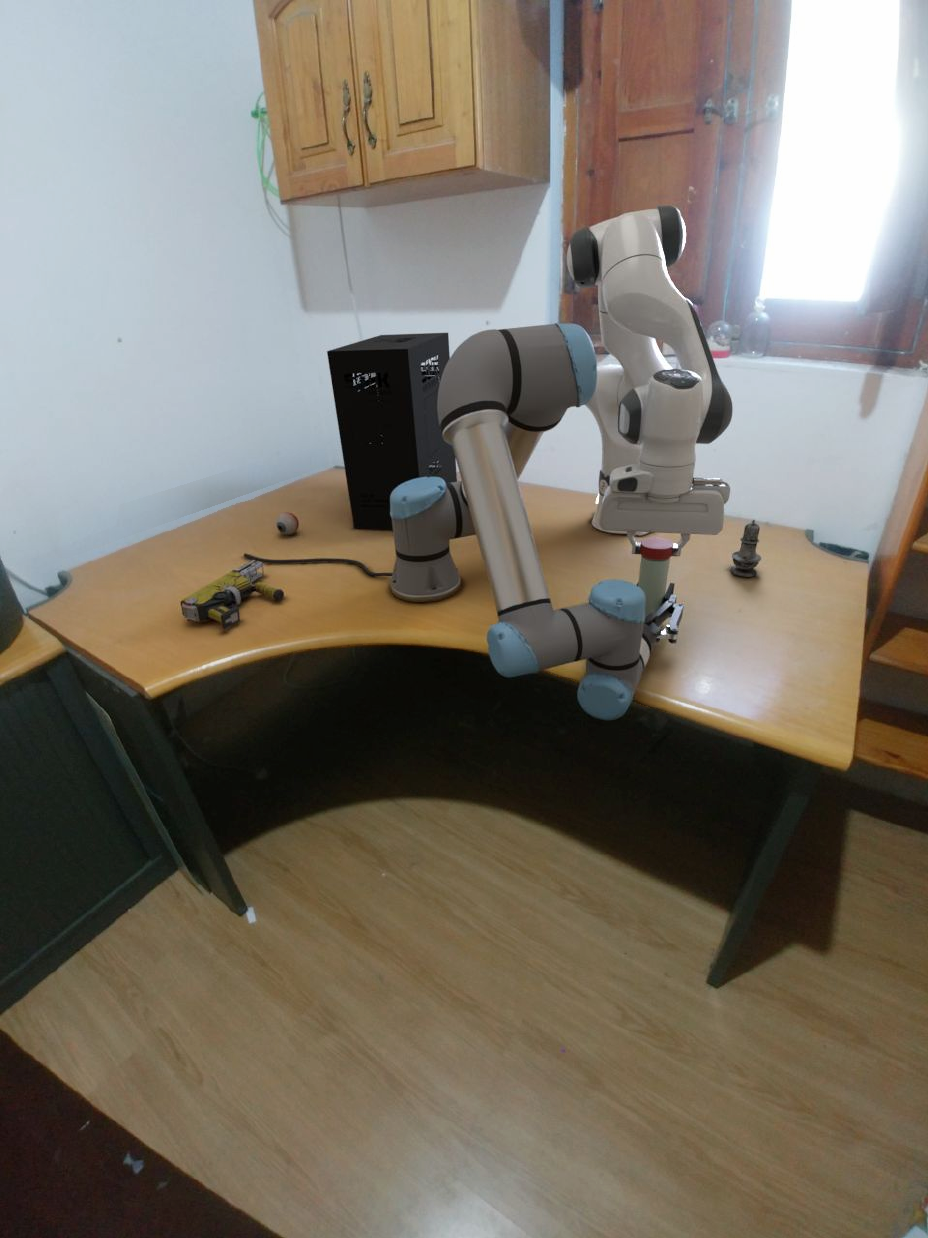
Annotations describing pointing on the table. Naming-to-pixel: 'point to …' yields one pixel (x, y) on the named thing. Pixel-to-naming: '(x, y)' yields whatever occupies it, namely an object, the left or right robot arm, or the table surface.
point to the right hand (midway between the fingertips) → (655, 554)
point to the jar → (653, 582)
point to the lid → (656, 548)
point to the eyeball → (287, 523)
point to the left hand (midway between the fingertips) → (656, 587)
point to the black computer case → (389, 418)
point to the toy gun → (227, 596)
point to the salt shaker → (747, 552)
